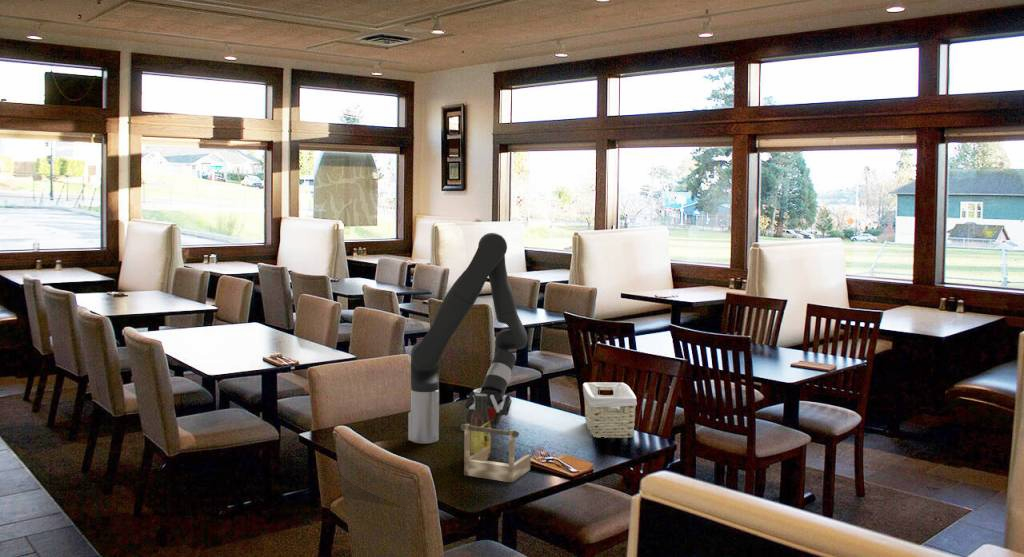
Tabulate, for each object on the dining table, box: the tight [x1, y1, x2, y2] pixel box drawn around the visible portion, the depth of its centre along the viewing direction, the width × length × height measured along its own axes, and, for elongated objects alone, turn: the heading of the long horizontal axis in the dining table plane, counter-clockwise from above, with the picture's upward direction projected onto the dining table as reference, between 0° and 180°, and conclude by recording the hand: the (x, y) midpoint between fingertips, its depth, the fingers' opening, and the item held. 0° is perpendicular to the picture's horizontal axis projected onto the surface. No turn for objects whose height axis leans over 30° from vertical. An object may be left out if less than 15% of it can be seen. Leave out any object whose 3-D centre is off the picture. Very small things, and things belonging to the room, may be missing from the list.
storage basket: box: [582, 381, 638, 439], centre depth 305 cm, size 24×16×15 cm
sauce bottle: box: [470, 394, 492, 459], centre depth 271 cm, size 7×6×20 cm
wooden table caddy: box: [460, 423, 531, 483], centre depth 256 cm, size 18×14×15 cm
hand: (481, 423), depth 271 cm, fingers open, 8 cm apart
